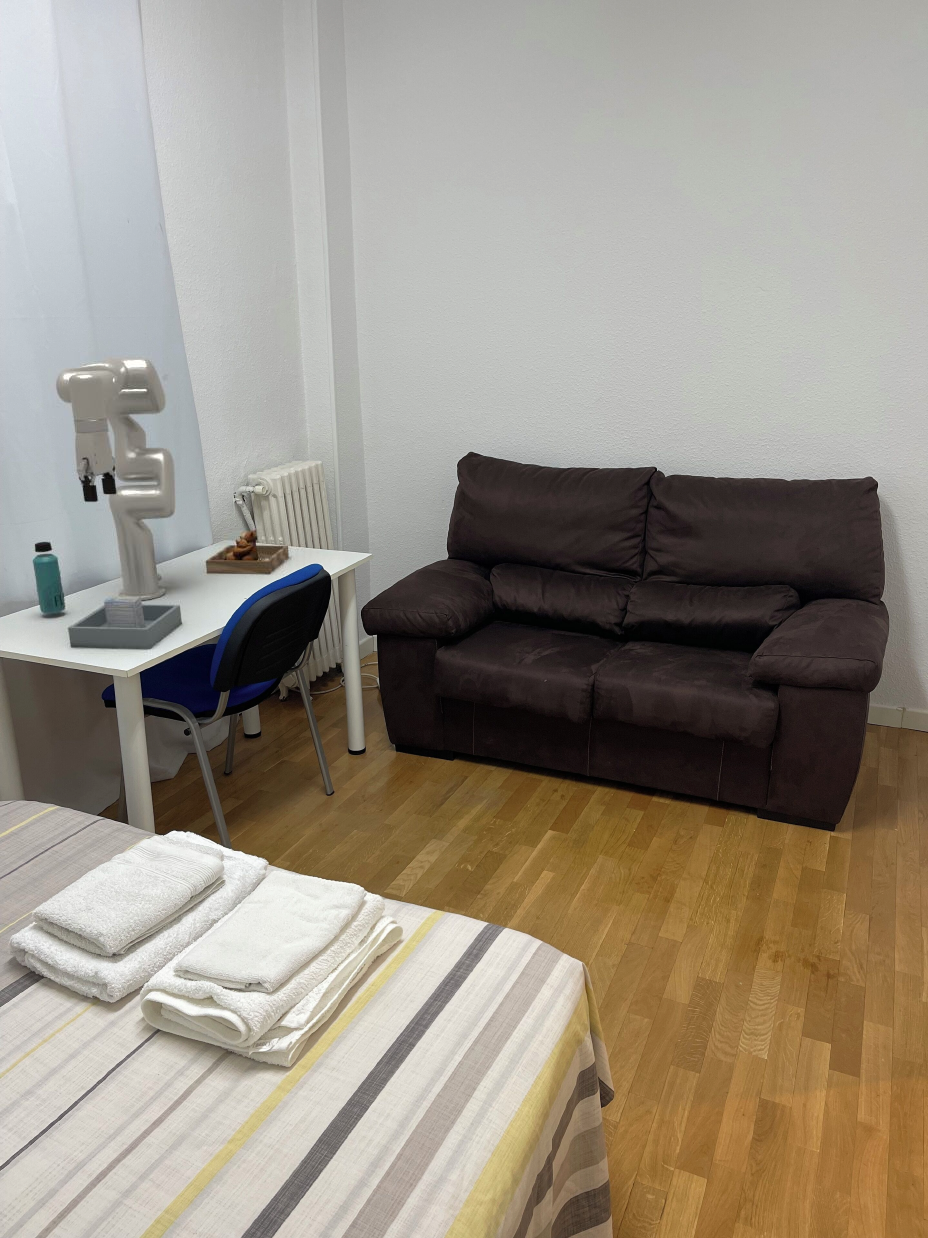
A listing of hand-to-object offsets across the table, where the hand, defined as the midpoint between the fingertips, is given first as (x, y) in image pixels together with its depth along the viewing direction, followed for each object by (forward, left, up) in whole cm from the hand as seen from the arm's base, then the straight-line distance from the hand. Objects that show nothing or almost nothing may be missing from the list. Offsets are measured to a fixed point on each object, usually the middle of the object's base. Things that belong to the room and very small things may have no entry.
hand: (100, 497), depth 236 cm
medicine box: (+3, +4, -34) cm, 34 cm away
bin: (+3, +4, -34) cm, 35 cm away
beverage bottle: (-12, -24, -34) cm, 44 cm away
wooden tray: (-67, +12, -34) cm, 76 cm away
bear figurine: (-64, +11, -35) cm, 74 cm away
